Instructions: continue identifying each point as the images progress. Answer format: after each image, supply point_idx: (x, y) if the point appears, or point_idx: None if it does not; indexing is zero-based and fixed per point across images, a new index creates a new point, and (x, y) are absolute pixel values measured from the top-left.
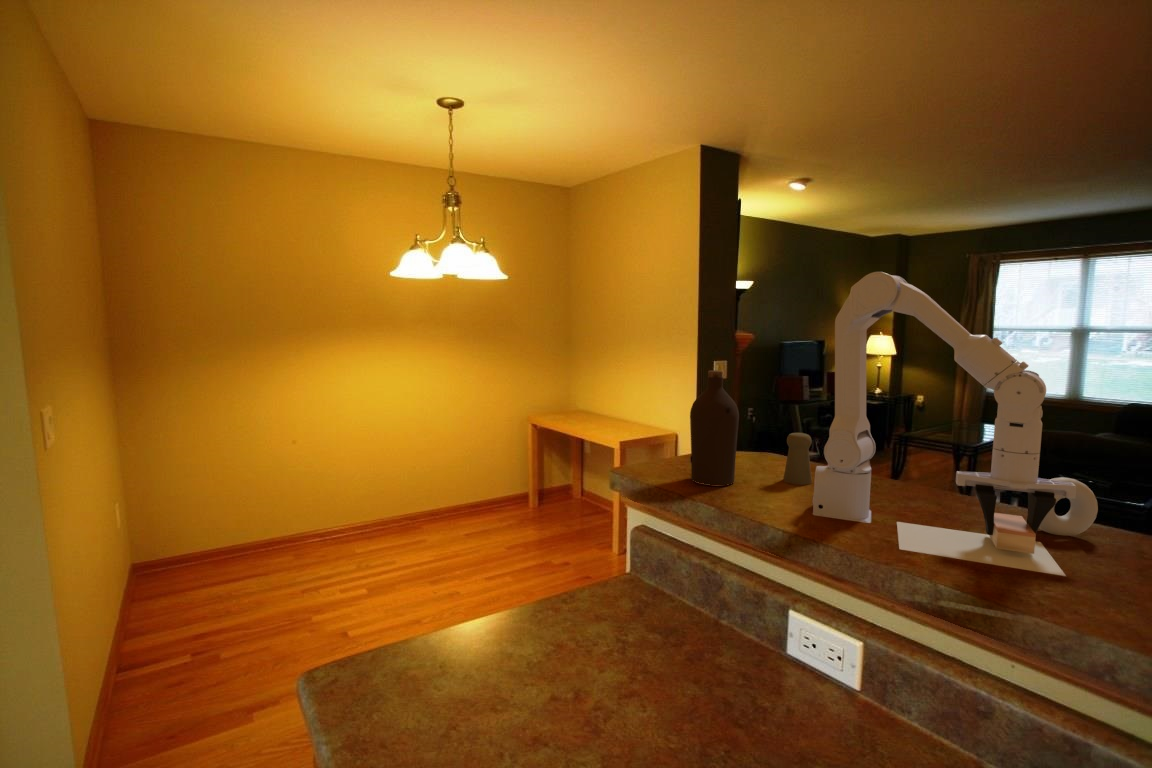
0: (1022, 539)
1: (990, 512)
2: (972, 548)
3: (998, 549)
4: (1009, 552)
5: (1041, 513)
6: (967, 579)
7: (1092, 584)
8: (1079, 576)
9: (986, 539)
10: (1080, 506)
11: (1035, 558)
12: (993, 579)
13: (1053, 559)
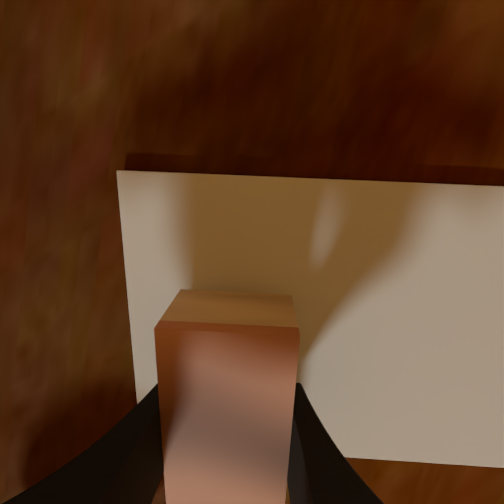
0: (208, 314)
1: (320, 458)
2: (350, 312)
3: None
4: None
5: (84, 468)
6: (447, 4)
7: (57, 172)
8: (82, 228)
9: None
10: None
11: None
12: (348, 58)
13: (129, 313)
